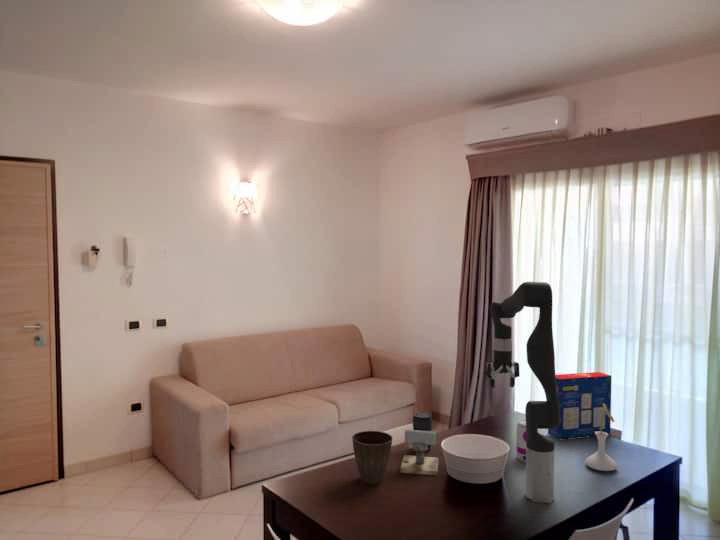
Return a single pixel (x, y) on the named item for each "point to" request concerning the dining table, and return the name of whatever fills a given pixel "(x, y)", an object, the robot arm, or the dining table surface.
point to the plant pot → (372, 454)
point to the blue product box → (582, 404)
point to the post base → (419, 464)
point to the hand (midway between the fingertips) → (502, 387)
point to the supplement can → (521, 440)
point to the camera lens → (422, 423)
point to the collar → (420, 439)
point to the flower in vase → (602, 450)
